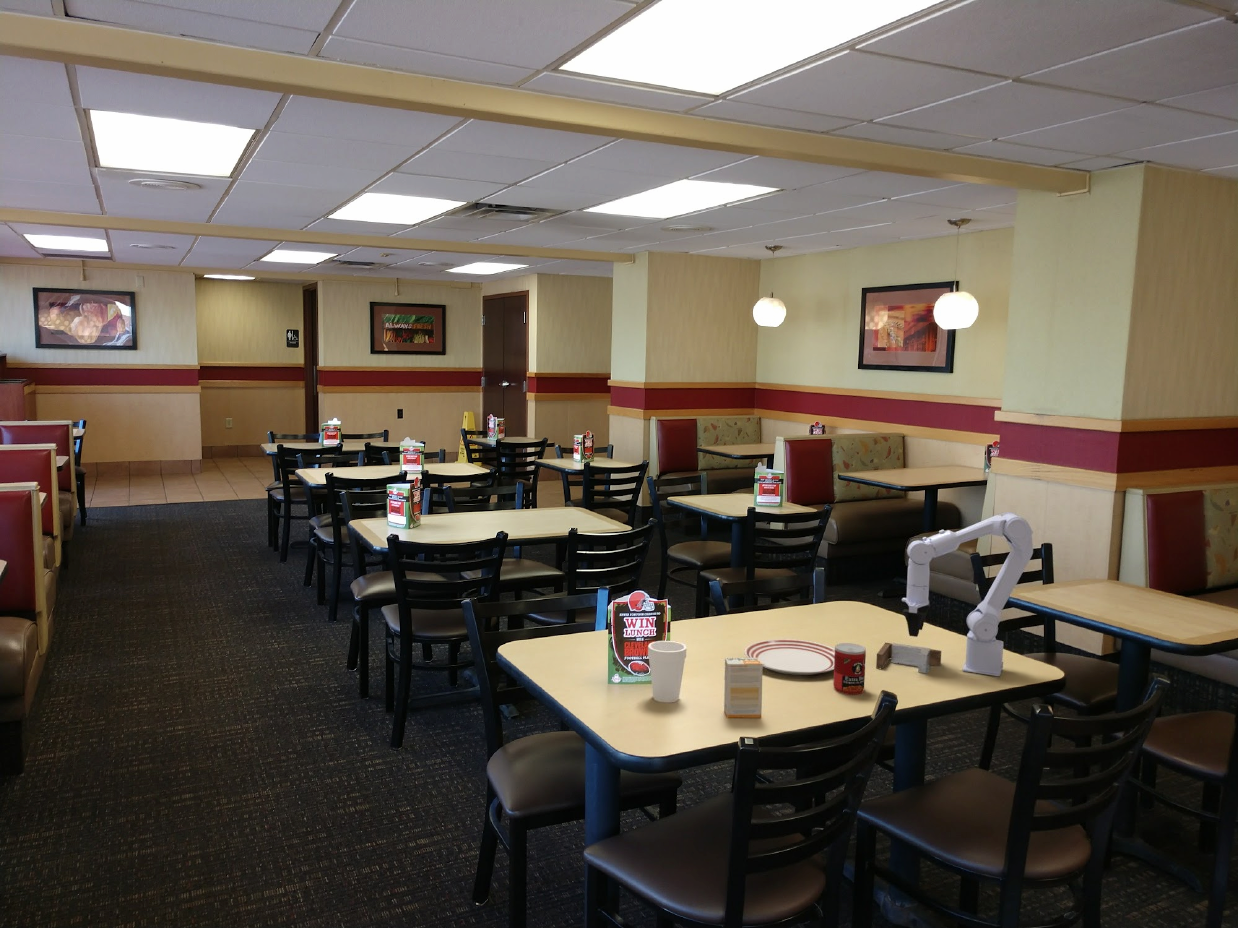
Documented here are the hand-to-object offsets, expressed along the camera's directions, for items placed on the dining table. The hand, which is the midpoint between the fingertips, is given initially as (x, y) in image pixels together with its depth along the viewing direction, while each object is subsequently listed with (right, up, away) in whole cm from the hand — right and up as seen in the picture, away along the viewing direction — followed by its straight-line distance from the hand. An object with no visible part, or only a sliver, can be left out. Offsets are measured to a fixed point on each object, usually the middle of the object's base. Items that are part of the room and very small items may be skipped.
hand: (915, 632), depth 247 cm
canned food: (-24, -11, -20) cm, 33 cm away
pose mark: (-2, -9, -1) cm, 10 cm away
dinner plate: (-34, -9, 0) cm, 35 cm away
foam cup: (-71, -11, -28) cm, 77 cm away
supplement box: (-53, -12, -38) cm, 67 cm away
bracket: (-2, -9, -1) cm, 10 cm away
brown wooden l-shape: (-2, -9, 0) cm, 9 cm away
